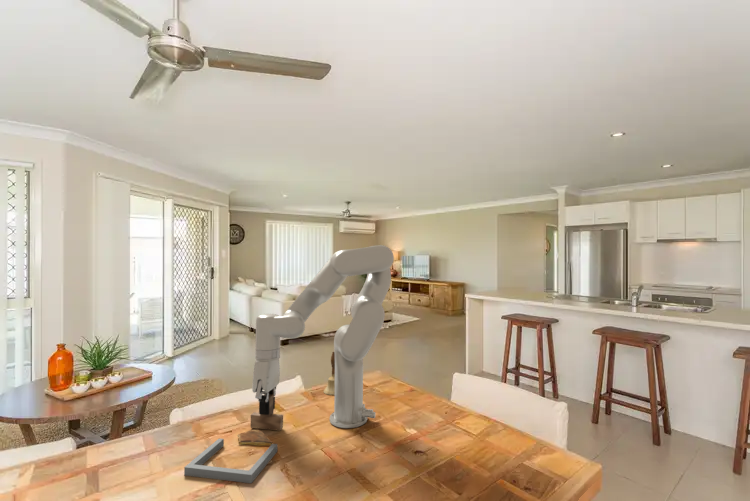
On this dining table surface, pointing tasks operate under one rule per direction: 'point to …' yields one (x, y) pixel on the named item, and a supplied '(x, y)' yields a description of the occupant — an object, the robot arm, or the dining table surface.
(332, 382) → the hand bell
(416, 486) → the dining table surface
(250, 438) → the shard
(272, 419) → the brown wooden block
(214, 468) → the frame
